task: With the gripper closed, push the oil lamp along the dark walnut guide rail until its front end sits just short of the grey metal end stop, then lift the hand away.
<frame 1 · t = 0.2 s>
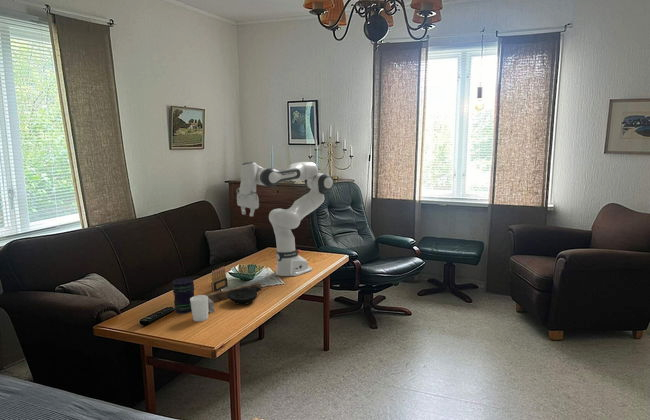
hand: (247, 215, 249), 39 cm above the table, tool pointing down, fingers open, 8 cm apart
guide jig: (230, 297, 230), on the table
ammunition clip: (220, 289, 244), on the table
storage jar: (185, 310, 215), on the table
white cup: (200, 319, 203), on the table
oil lamp: (246, 301, 224), on the table
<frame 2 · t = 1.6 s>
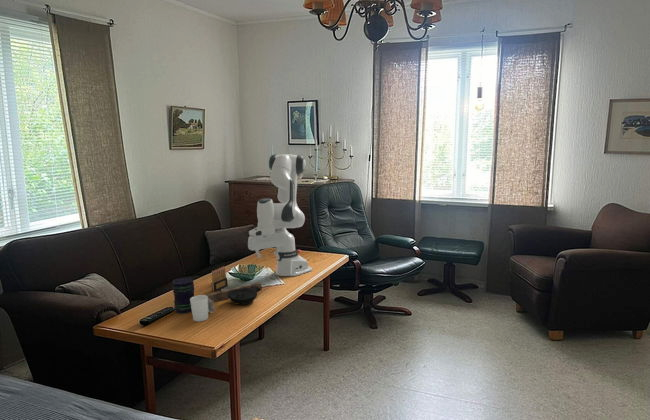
hand: (268, 256, 230), 20 cm above the table, tool pointing down, fingers open, 8 cm apart
nothing on the table moved.
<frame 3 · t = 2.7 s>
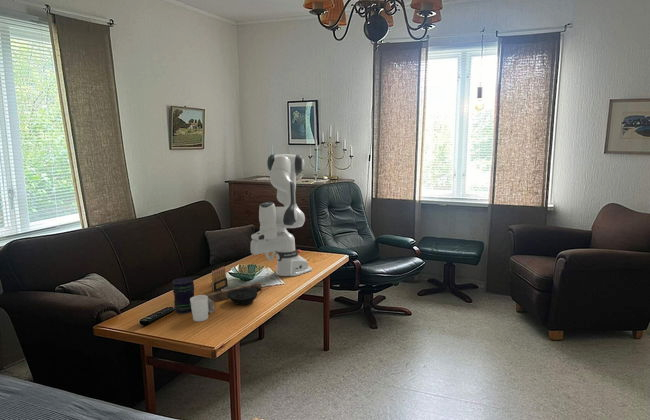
hand: (270, 259, 230), 18 cm above the table, tool pointing down, fingers closed
nothing on the table moved.
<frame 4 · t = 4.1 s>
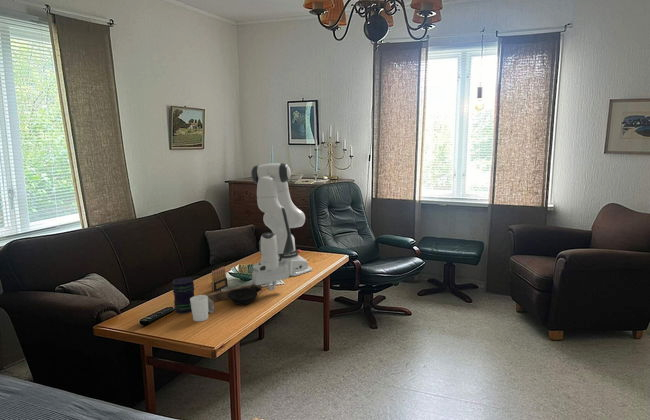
hand: (271, 289, 232), 2 cm above the table, tool pointing down, fingers closed
nothing on the table moved.
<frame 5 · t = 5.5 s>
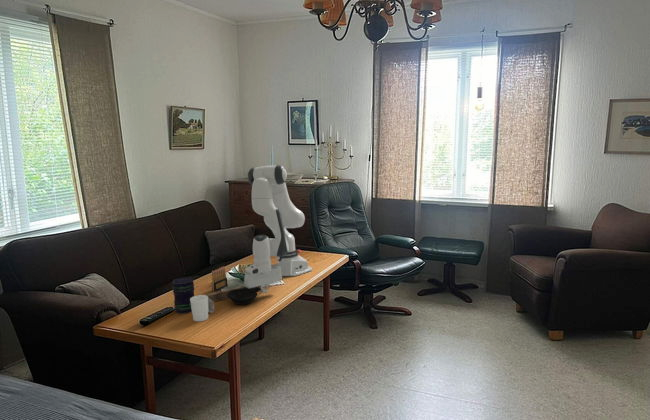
hand: (264, 292, 229), 2 cm above the table, tool pointing down, fingers closed
oil lamp: (246, 301, 224), on the table, touching gripper
everything else where it was.
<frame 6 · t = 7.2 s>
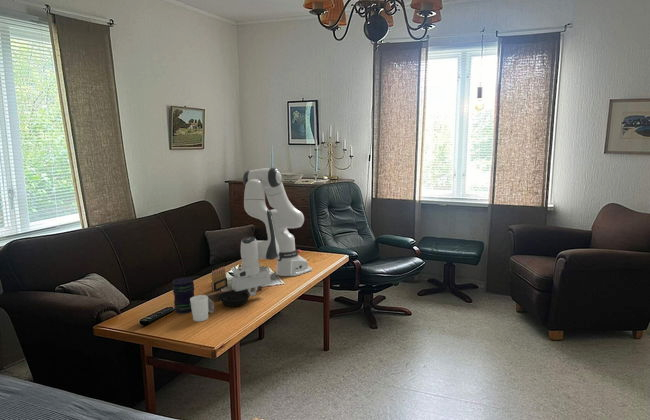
hand: (252, 295, 226), 2 cm above the table, tool pointing down, fingers closed
oil lamp: (236, 303, 222), on the table
everything else where it was.
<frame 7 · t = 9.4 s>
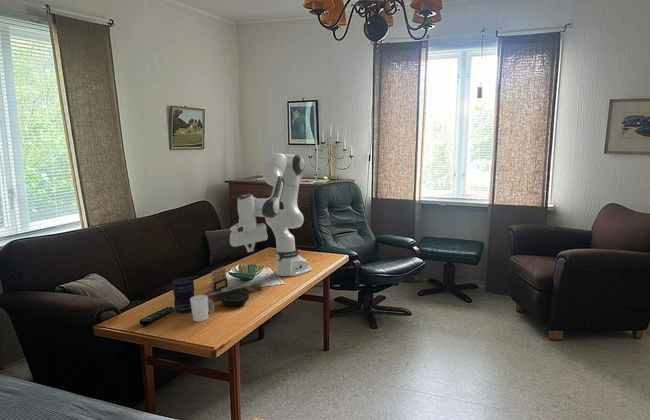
hand: (250, 251, 231), 23 cm above the table, tool pointing down, fingers closed
nothing on the table moved.
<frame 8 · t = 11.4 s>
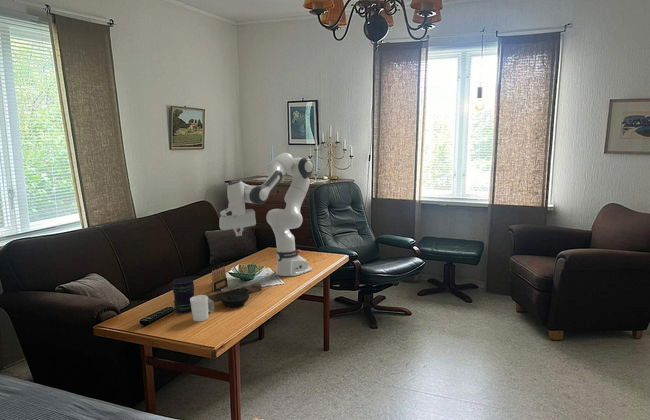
hand: (238, 235, 241), 29 cm above the table, tool pointing down, fingers closed
nothing on the table moved.
at the end: oil lamp inside the target area (2.8 cm from its centre), on the table; oil lamp tilted 0°; the gripper is holding nothing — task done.
